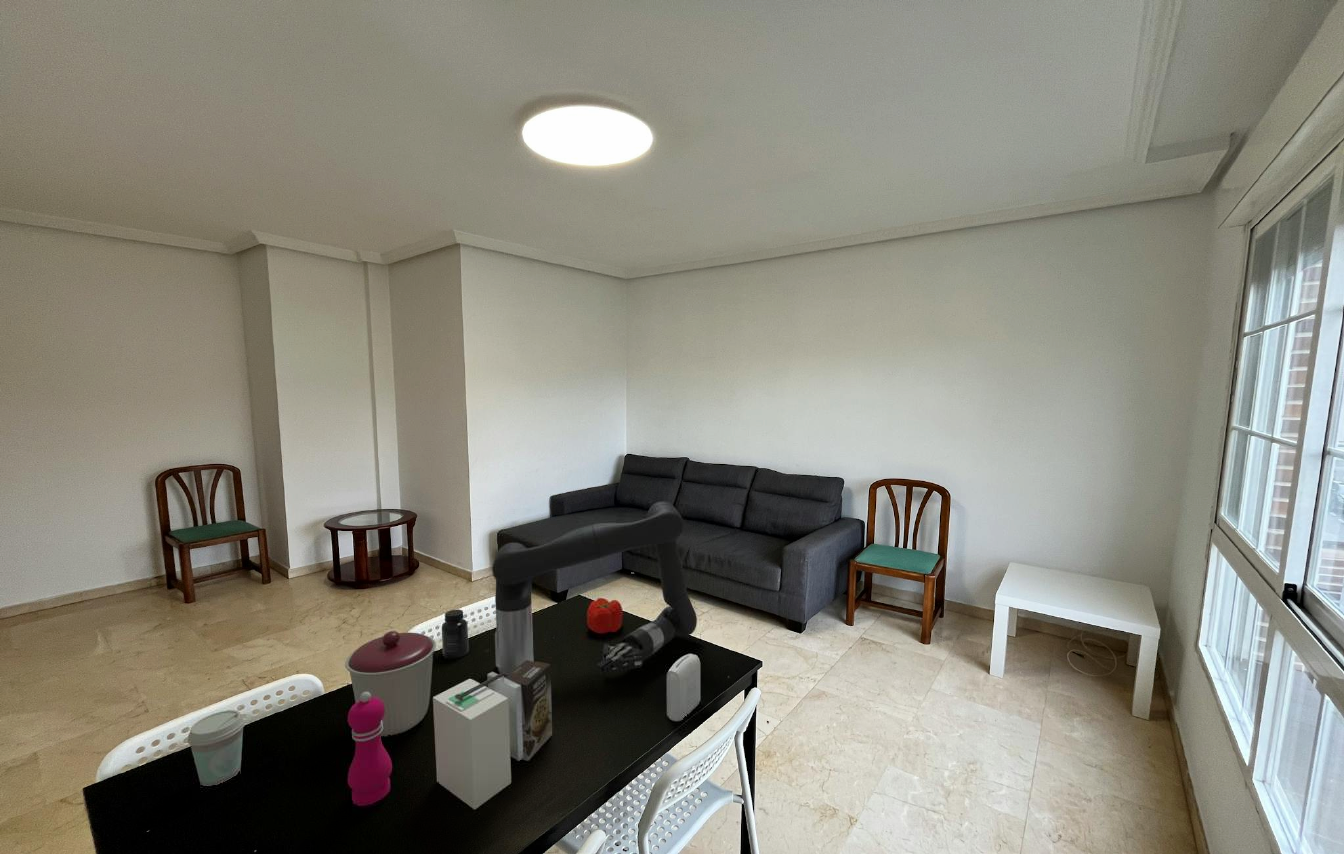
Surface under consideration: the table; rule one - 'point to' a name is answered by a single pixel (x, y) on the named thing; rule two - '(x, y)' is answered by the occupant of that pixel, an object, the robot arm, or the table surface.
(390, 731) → the canister
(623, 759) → the table surface
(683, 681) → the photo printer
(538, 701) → the coffee box
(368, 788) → the pepper mill
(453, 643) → the supplement bottle
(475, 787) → the gauge housing
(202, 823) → the table surface
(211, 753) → the coffee cup
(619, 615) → the red bell pepper
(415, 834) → the table surface
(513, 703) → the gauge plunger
